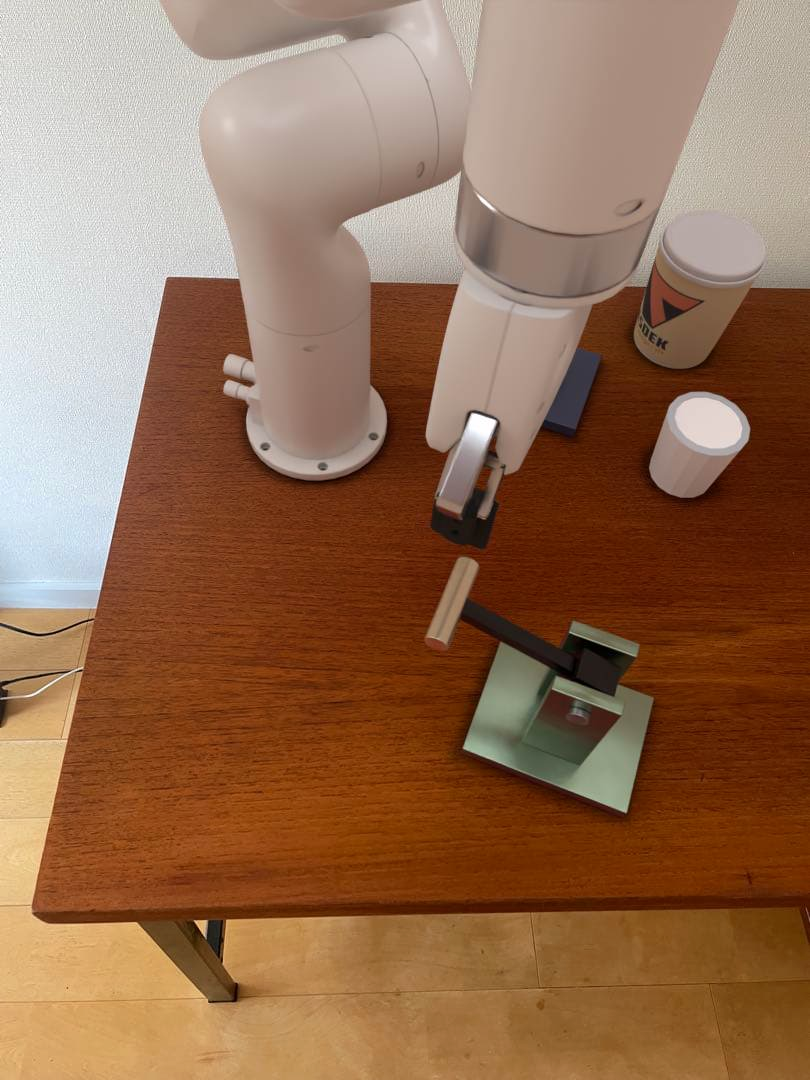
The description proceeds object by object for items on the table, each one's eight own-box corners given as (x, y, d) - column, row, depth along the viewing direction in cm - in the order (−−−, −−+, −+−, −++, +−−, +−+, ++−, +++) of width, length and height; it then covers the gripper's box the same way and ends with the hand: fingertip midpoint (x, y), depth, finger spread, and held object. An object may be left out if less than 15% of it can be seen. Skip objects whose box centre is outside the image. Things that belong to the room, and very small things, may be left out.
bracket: (460, 753, 58) (480, 695, 48) (498, 647, 62) (524, 573, 52) (622, 817, 56) (679, 771, 46) (649, 702, 60) (706, 637, 50)
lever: (417, 643, 49) (431, 632, 47) (450, 564, 52) (465, 550, 50) (586, 733, 50) (607, 726, 48) (608, 651, 53) (629, 641, 51)
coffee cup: (609, 317, 82) (644, 216, 71) (690, 301, 83) (736, 200, 73) (650, 384, 77) (694, 285, 67) (735, 365, 79) (790, 266, 69)
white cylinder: (658, 430, 74) (684, 378, 68) (728, 462, 73) (761, 412, 67) (630, 481, 71) (654, 431, 65) (703, 516, 69) (735, 468, 63)
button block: (450, 398, 75) (453, 375, 73) (483, 328, 80) (487, 305, 78) (573, 437, 73) (580, 416, 71) (599, 363, 78) (607, 341, 76)
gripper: (532, 73, 36) (480, 347, 50) (372, 326, 27) (366, 566, 42) (696, 121, 34) (594, 387, 49) (582, 400, 26) (500, 620, 41)
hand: (489, 469), depth 46 cm, fingers open, 9 cm apart
